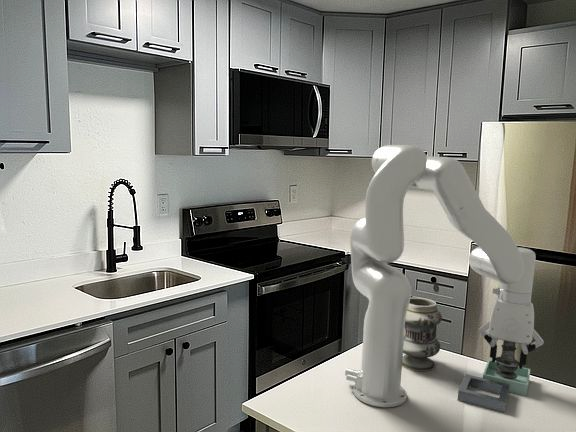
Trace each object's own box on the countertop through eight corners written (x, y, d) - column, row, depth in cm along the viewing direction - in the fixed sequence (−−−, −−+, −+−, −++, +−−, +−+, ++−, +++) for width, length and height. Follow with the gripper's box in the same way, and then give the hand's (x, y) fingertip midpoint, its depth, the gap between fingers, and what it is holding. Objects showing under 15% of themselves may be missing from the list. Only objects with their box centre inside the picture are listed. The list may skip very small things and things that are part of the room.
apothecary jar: (406, 351, 147) (410, 292, 144) (445, 363, 139) (451, 301, 137) (386, 363, 138) (390, 301, 135) (427, 377, 130) (432, 311, 128)
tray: (481, 385, 127) (482, 374, 126) (487, 370, 136) (488, 359, 136) (526, 396, 122) (527, 384, 122) (529, 379, 131) (530, 369, 131)
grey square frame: (457, 400, 119) (458, 390, 118) (464, 383, 128) (465, 373, 127) (504, 412, 114) (505, 402, 114) (508, 393, 123) (509, 384, 123)
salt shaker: (511, 369, 132) (516, 326, 130) (522, 379, 126) (527, 334, 124) (490, 369, 131) (494, 325, 130) (500, 379, 126) (504, 333, 124)
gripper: (476, 293, 127) (469, 360, 129) (552, 306, 118) (544, 377, 121) (480, 287, 133) (474, 351, 136) (553, 298, 125) (544, 366, 127)
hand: (507, 363), depth 128 cm, fingers closed on salt shaker, 5 cm apart
